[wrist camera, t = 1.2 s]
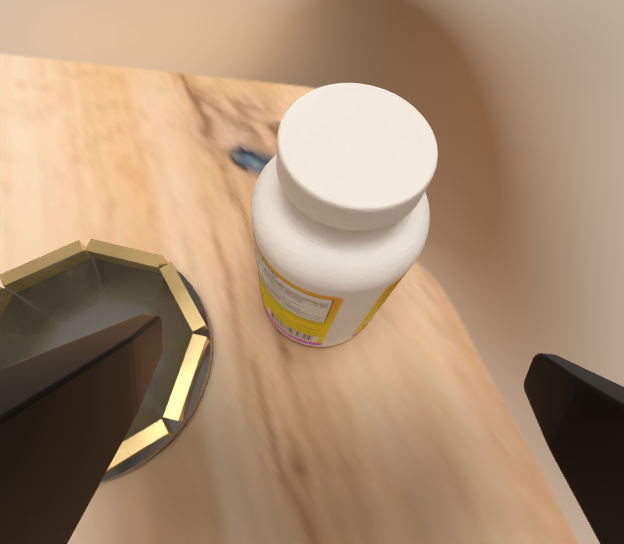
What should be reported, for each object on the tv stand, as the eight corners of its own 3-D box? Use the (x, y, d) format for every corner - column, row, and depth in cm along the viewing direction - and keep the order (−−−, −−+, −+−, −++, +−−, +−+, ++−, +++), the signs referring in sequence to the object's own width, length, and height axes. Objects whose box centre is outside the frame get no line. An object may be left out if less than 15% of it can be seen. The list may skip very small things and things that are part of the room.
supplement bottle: (358, 237, 24) (433, 52, 13) (386, 338, 22) (512, 224, 10) (253, 252, 23) (229, 65, 12) (270, 359, 21) (261, 260, 9)
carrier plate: (252, 395, 20) (250, 390, 18) (10, 546, 17) (-22, 560, 15) (157, 222, 24) (147, 204, 22) (-59, 319, 20) (-92, 308, 18)
